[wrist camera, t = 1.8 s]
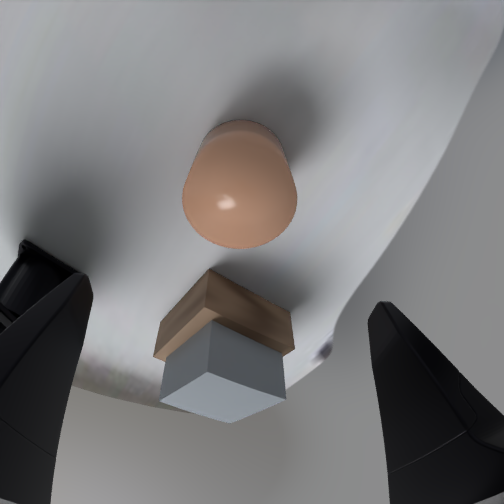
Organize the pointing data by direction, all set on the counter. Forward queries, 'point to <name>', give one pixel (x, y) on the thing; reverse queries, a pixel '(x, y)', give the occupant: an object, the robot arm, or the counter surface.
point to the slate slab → (223, 375)
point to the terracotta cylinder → (240, 186)
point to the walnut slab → (224, 316)
